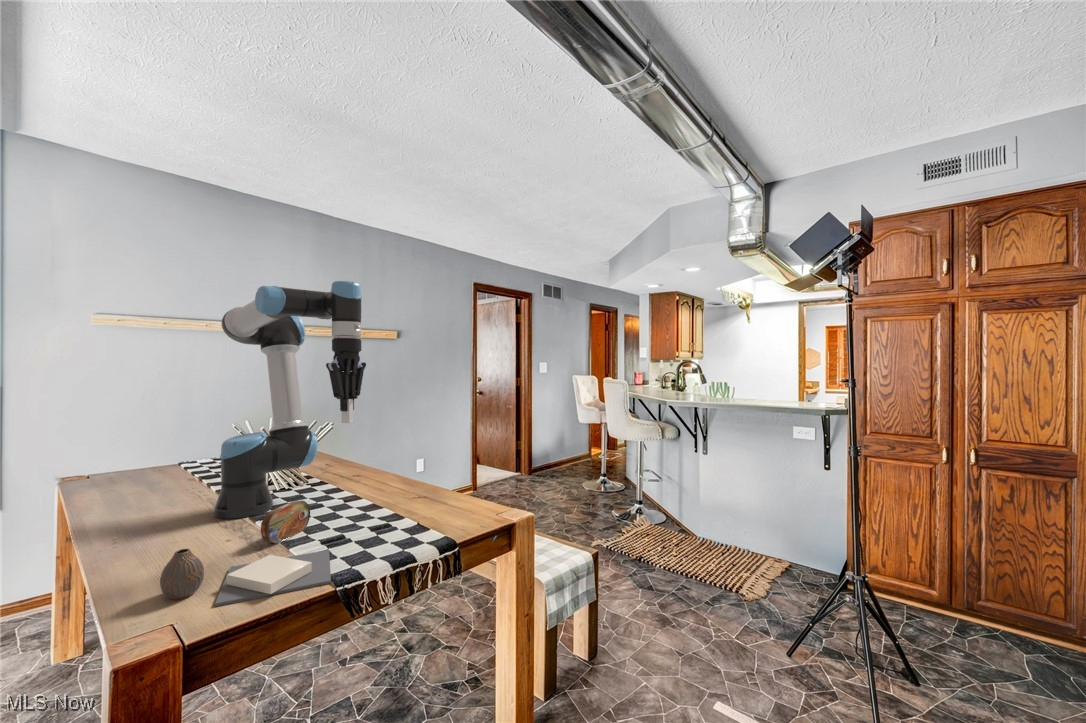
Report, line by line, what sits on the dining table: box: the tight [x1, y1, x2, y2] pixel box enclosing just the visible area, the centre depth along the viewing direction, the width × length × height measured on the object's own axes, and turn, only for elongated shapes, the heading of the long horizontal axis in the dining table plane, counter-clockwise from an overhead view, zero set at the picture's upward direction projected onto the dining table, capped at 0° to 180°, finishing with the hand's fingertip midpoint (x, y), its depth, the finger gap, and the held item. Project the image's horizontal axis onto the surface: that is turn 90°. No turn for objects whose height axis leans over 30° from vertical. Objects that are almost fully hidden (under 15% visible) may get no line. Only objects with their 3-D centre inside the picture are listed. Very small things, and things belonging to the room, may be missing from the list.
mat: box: [214, 549, 332, 608], centre depth 98 cm, size 17×20×1 cm
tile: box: [226, 554, 312, 594], centre depth 96 cm, size 12×2×10 cm
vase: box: [159, 548, 205, 600], centre depth 91 cm, size 7×7×9 cm
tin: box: [260, 500, 311, 544], centre depth 120 cm, size 15×3×8 cm, turn 168°
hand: (347, 422), depth 126 cm, fingers closed
